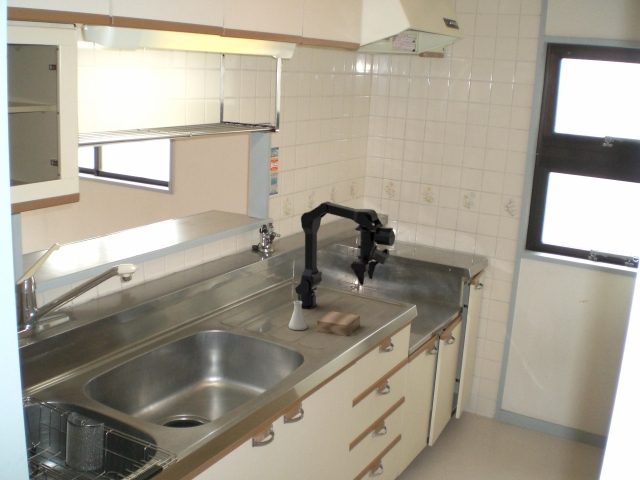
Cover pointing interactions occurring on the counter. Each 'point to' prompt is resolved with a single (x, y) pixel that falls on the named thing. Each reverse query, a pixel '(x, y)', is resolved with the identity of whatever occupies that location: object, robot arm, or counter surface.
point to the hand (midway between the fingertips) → (366, 281)
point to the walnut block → (338, 323)
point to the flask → (297, 317)
